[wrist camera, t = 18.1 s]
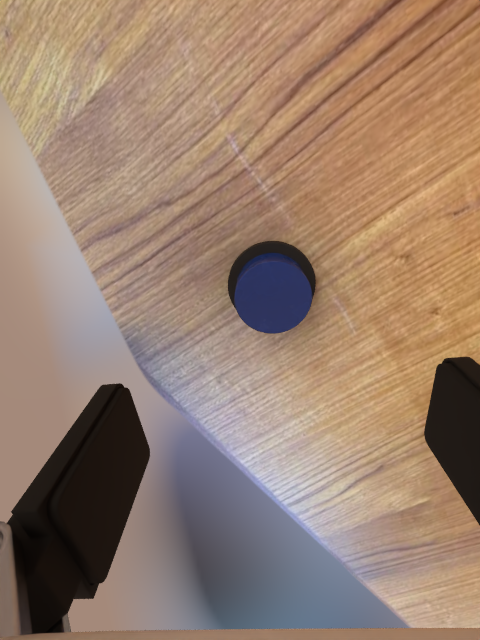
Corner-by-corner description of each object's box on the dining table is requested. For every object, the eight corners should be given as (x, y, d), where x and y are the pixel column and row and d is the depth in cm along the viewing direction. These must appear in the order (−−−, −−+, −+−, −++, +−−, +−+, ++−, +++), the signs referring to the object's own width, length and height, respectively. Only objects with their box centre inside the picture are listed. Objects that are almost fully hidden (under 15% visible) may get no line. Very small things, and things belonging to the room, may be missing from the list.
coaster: (221, 312, 23) (220, 315, 22) (239, 231, 20) (238, 232, 19) (298, 330, 23) (299, 334, 22) (326, 253, 20) (328, 255, 20)
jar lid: (307, 248, 20) (312, 256, 18) (308, 316, 22) (314, 330, 20) (232, 256, 20) (229, 265, 18) (240, 321, 22) (239, 336, 20)
